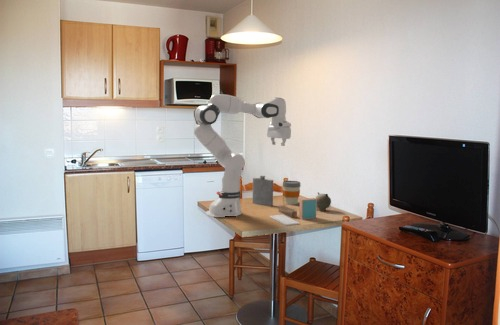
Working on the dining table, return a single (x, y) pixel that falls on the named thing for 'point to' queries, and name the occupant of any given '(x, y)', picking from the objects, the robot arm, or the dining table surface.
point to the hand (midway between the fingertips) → (278, 145)
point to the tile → (308, 208)
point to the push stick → (288, 211)
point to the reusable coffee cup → (291, 191)
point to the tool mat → (284, 220)
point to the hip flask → (263, 191)
